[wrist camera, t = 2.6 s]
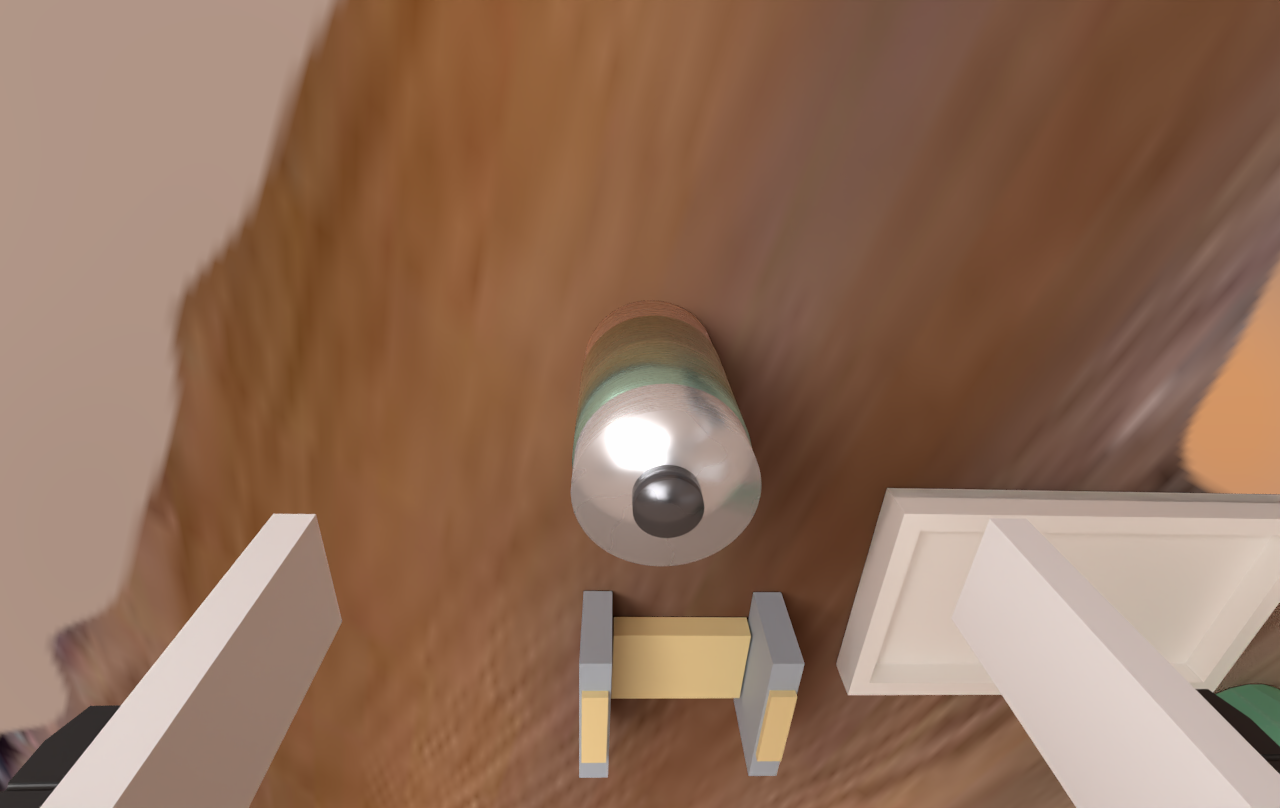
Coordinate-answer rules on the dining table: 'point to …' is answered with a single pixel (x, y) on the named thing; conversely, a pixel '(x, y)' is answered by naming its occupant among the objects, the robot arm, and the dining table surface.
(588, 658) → the cradle
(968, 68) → the dining table surface
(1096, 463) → the dining table surface
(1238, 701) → the mug
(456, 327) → the dining table surface
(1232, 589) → the tray
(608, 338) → the cell
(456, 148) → the dining table surface
